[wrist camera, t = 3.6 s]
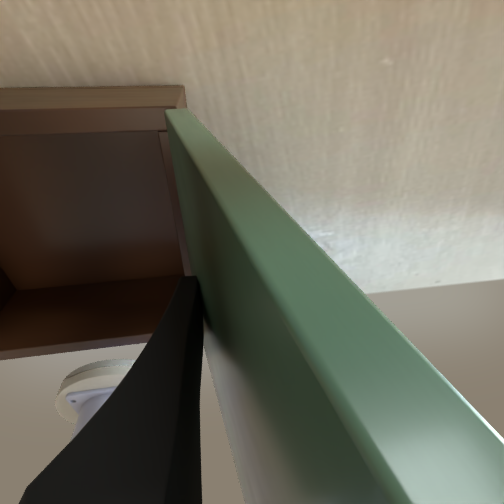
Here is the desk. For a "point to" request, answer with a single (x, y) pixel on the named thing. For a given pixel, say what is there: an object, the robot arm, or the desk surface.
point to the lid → (314, 358)
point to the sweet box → (86, 217)
